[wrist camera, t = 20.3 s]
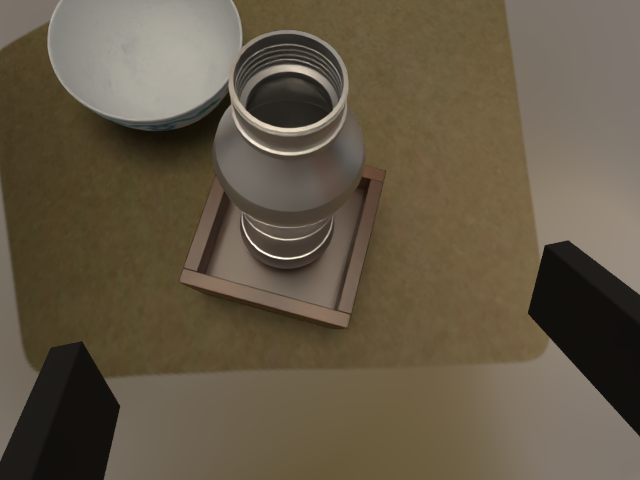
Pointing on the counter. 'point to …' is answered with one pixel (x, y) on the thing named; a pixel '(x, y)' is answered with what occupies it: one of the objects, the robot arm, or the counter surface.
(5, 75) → the counter surface
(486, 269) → the counter surface
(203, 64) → the chinaware
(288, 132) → the metal bottle
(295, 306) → the walnut box
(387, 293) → the counter surface
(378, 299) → the counter surface
